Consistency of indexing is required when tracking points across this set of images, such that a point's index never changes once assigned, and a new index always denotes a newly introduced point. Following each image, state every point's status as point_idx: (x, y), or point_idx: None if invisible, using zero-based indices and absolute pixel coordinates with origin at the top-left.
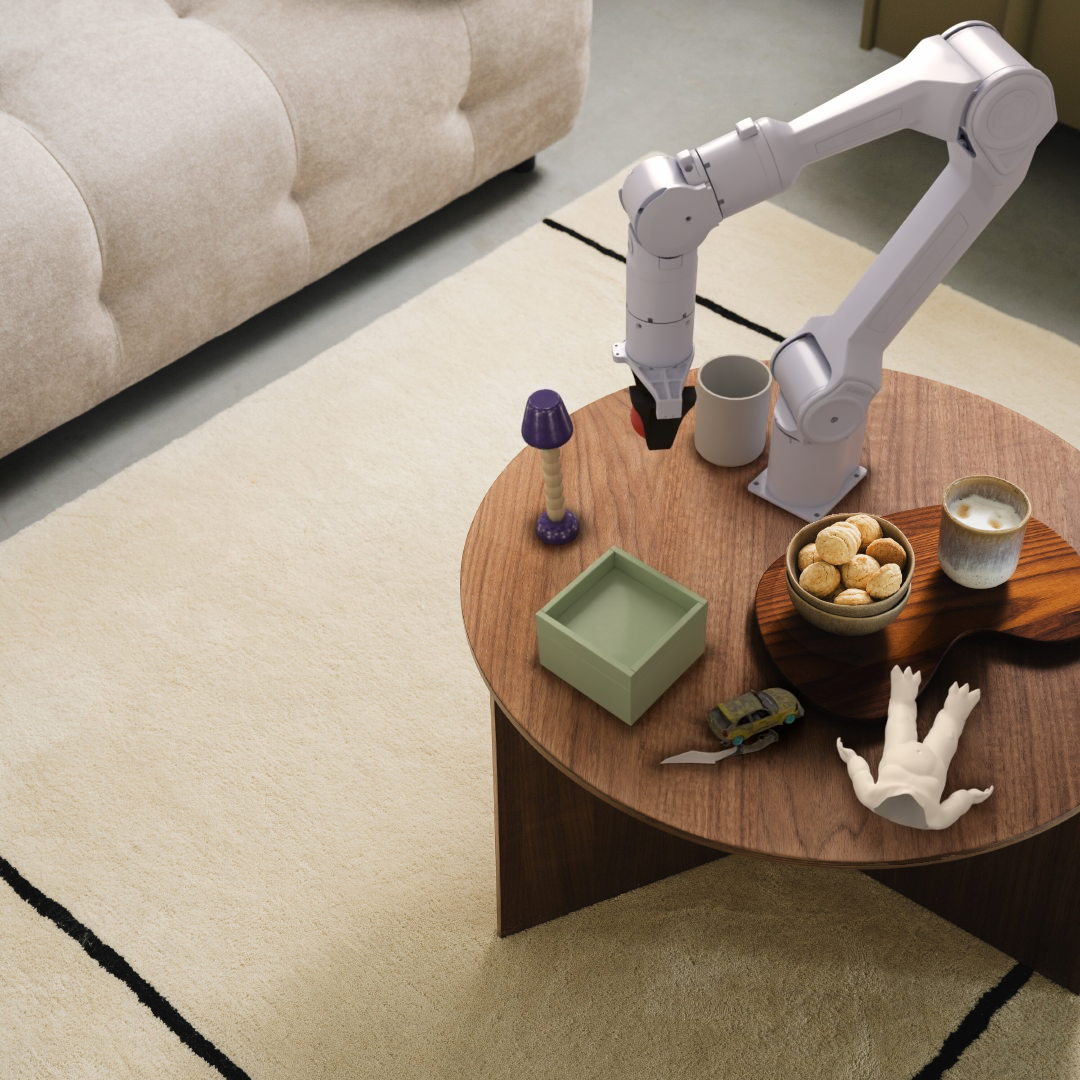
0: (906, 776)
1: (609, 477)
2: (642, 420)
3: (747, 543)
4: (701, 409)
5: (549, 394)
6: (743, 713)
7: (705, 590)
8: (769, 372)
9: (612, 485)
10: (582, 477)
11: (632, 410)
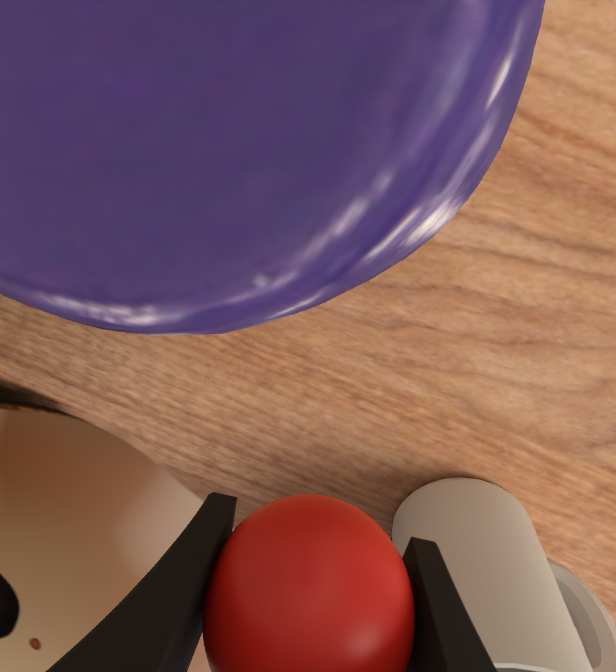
0: None
1: (477, 298)
2: (55, 663)
3: (211, 459)
4: (481, 586)
5: (186, 121)
6: None
7: (115, 364)
8: None
9: (448, 296)
10: (509, 236)
11: (323, 578)
